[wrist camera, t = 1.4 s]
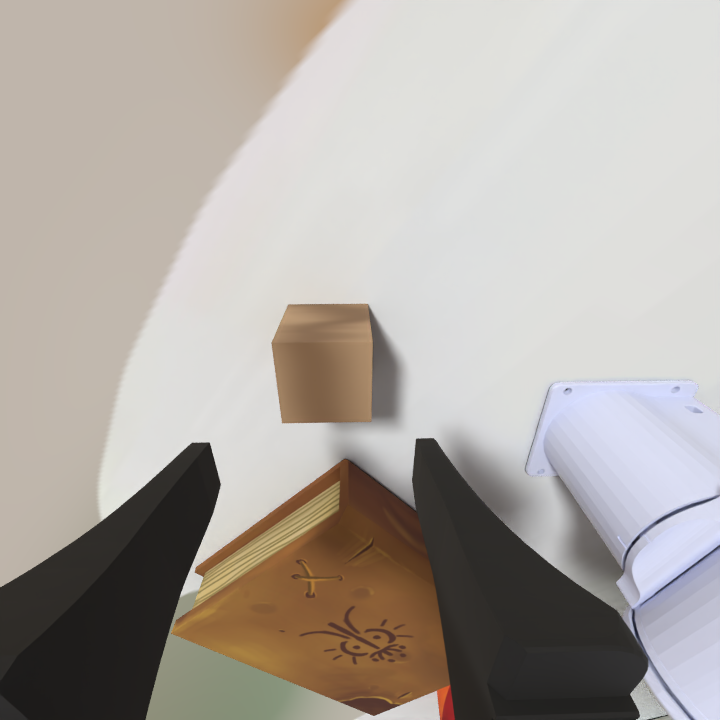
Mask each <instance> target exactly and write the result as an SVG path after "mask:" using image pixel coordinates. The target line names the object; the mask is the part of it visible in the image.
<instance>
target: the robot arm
mask: <svg viewBox="0 0 720 720" xmlns="http://www.w3.org/2000/svg"><path fill="white" fill-rule="evenodd" d="M698 387H699V386H698V384H697V383H695V382H694V381H691V380H674V381H602V382H557V383H554V384H553V385H552V386H551V387H550V389H549V392H548V395H547V399H546V402H545V405H544V409H543V412H542V415H541V419H540V422H539V425H538V428H537V432H536V435H535V438H534V442H533V445H532V448H531V452H530V455H529V458H528V462H527V465H526V468H525V470H526V472H527V474H528V475H529V476H560V477H561V479H562V480H563V482H564V483H565V485H566V486H567V488H568V489H569V491H570V492H571V494H572V495H573V497H574V498H575V500H576V501H577V503H578V504H579V506H580V507H581V509H582V510H583V512H584V513H585V515H586V516H587V518H588V519H589V521H590V522H591V524H592V525H593V527H594V528H595V529H596V531H597V532H598V534H599V535H600V537H601V538H602V540H603V541H604V543H605V544H606V546H607V547H608V549H609V550H610V552H611V553H612V555H613V556H614V558H615V559H616V561H617V562H618V564H619V565H620V567H621V568H622V570H623V571H624V574H623V575H622V577H621V578H620V579H619V580H618V581H617V582H616V584H617V586H618V587H619V589H620V591H621V592H622V594H623V595H624V597H625V598H626V600H627V602H628V603H629V606H627V607H626V609H625V611H624V612H623V616H622V617H621V616H620V614H619V613H618V611H617V610H615V609H614V608H612V607H611V606H609V605H608V604H606V603H605V602H603V601H602V600H600V599H599V598H597V597H596V596H594V595H593V594H591V593H590V592H588V591H587V590H585V589H584V588H582V587H581V586H579V585H578V584H576V583H575V582H574V581H572V580H571V579H570V578H568V577H567V576H566V575H564V574H563V573H561V572H560V571H559V570H557V569H556V568H555V567H553V566H552V565H551V564H550V563H548V562H547V561H546V560H545V559H544V558H542V557H541V556H540V555H539V554H538V553H536V552H535V551H534V550H533V549H532V548H530V547H529V546H528V545H527V544H525V543H524V542H523V541H522V540H521V539H520V538H519V537H518V536H517V535H516V534H514V533H513V532H512V531H511V530H510V529H509V528H508V527H507V526H506V525H505V524H504V523H503V522H502V521H501V520H500V519H499V518H498V517H497V516H496V515H495V514H494V513H493V512H492V511H491V510H490V509H489V508H488V507H487V506H486V505H485V503H484V502H483V501H482V500H481V499H480V498H479V497H478V496H477V494H476V493H475V492H474V491H473V490H472V489H471V487H470V486H469V485H468V484H467V482H466V481H465V480H464V479H463V477H462V476H461V475H460V474H459V472H458V471H457V470H456V468H455V467H454V466H453V464H452V463H451V462H450V460H449V459H448V458H447V456H446V455H445V453H444V452H443V450H442V449H441V447H440V446H439V444H438V443H437V441H436V440H435V439H434V438H422V439H416V445H415V456H414V467H413V478H412V483H413V490H414V498H415V504H416V510H417V514H418V518H419V522H420V526H421V530H422V534H423V538H424V542H425V546H426V550H427V554H428V558H429V562H430V566H431V569H432V574H433V578H434V583H435V588H436V594H437V600H438V606H439V612H440V619H441V625H442V632H443V638H444V645H445V652H446V658H447V666H448V673H449V680H450V687H451V694H452V702H453V710H454V717H455V720H636V719H638V718H639V717H640V715H639V711H638V709H637V707H636V705H635V703H634V701H633V699H632V697H631V696H630V693H631V692H632V691H633V690H634V688H635V687H636V686H637V685H638V684H639V682H640V681H641V680H642V679H643V681H644V682H645V684H646V686H647V687H648V689H649V690H650V692H651V693H652V695H653V696H654V698H655V699H656V700H657V702H658V703H659V704H660V706H661V707H662V708H663V710H664V711H665V712H666V713H667V714H668V716H669V717H670V718H671V719H672V720H720V415H719V414H718V413H716V412H715V411H713V410H712V409H710V408H709V407H707V406H706V405H705V404H703V403H702V402H700V401H699V400H697V399H696V398H694V396H695V394H696V392H697V390H698ZM567 388H568V390H566V391H564V390H565V389H567ZM220 486H221V483H220V480H219V476H218V472H217V468H216V465H215V461H214V457H213V453H212V449H211V446H210V443H191V444H190V445H189V446H188V447H187V448H186V449H185V450H183V451H182V452H181V453H180V454H179V455H178V456H177V457H176V458H175V459H174V460H173V461H172V462H171V463H169V464H168V465H167V466H166V467H165V468H164V469H163V470H162V471H161V472H160V473H159V474H157V475H156V476H155V477H154V478H153V479H152V480H151V481H150V482H149V483H147V484H146V485H145V486H144V487H143V488H142V489H141V490H139V491H138V492H137V493H136V494H135V495H133V496H132V497H131V498H130V499H129V500H127V501H126V502H125V503H124V504H123V505H121V506H120V507H119V508H118V509H117V510H115V511H114V512H113V513H112V514H110V515H109V516H108V517H107V518H105V519H104V520H103V521H101V522H100V523H99V524H97V525H96V526H95V527H93V528H92V529H91V530H89V531H88V532H86V533H85V534H84V535H82V536H81V537H80V538H78V539H77V540H75V541H74V542H72V543H71V544H69V545H68V546H66V547H65V548H63V549H62V550H60V551H59V552H57V553H56V554H54V555H52V556H51V557H49V558H48V559H46V560H45V561H43V562H42V563H40V564H39V565H37V566H36V567H34V568H32V569H31V570H29V571H27V572H26V573H24V574H23V575H21V576H19V577H18V578H16V579H14V580H13V581H11V582H9V583H7V584H6V585H4V586H2V587H0V720H145V719H146V715H147V711H148V707H149V703H150V699H151V695H152V691H153V688H154V684H155V680H156V676H157V672H158V668H159V665H160V661H161V657H162V654H163V651H164V647H165V643H166V640H167V636H168V633H169V629H170V626H171V623H172V619H173V617H174V613H175V610H176V607H177V604H178V600H179V597H180V594H181V591H182V589H183V586H184V583H185V580H186V578H187V575H188V573H189V571H190V568H191V566H192V563H193V561H194V559H195V556H196V554H197V551H198V549H199V547H200V544H201V542H202V539H203V537H204V535H205V532H206V530H207V527H208V525H209V522H210V520H211V517H212V515H213V512H214V508H215V505H216V501H217V498H218V494H219V490H220Z"/></svg>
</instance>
